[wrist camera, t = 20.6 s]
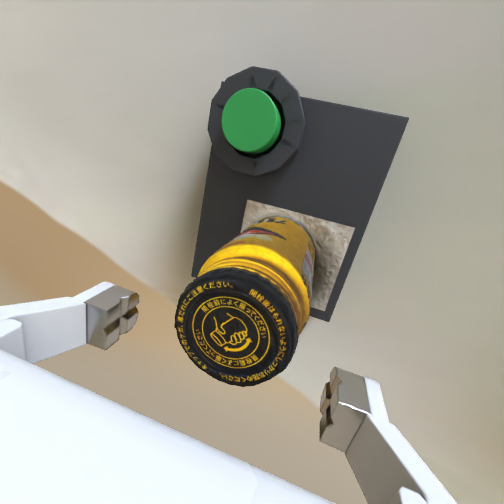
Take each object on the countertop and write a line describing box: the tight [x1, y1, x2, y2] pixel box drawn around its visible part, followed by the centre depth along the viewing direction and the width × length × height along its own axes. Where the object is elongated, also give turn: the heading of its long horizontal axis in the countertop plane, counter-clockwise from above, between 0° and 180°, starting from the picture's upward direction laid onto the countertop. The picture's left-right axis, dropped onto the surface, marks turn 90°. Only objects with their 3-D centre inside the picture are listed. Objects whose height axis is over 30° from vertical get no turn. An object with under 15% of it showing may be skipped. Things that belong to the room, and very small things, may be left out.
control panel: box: [191, 66, 409, 322], centre depth 21 cm, size 17×13×6 cm
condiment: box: [175, 200, 355, 387], centre depth 16 cm, size 7×8×12 cm
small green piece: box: [222, 88, 281, 154], centre depth 17 cm, size 4×4×2 cm
